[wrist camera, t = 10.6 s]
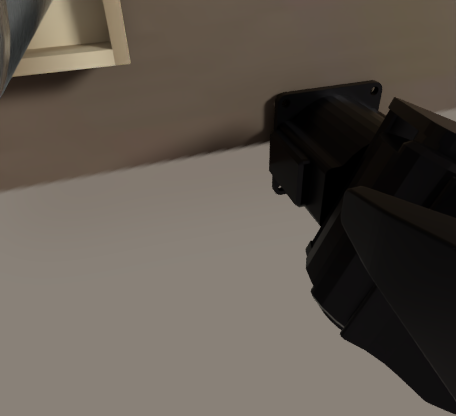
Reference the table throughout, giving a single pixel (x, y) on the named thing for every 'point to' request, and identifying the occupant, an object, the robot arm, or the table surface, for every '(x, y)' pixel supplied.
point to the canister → (17, 33)
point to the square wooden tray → (77, 38)
